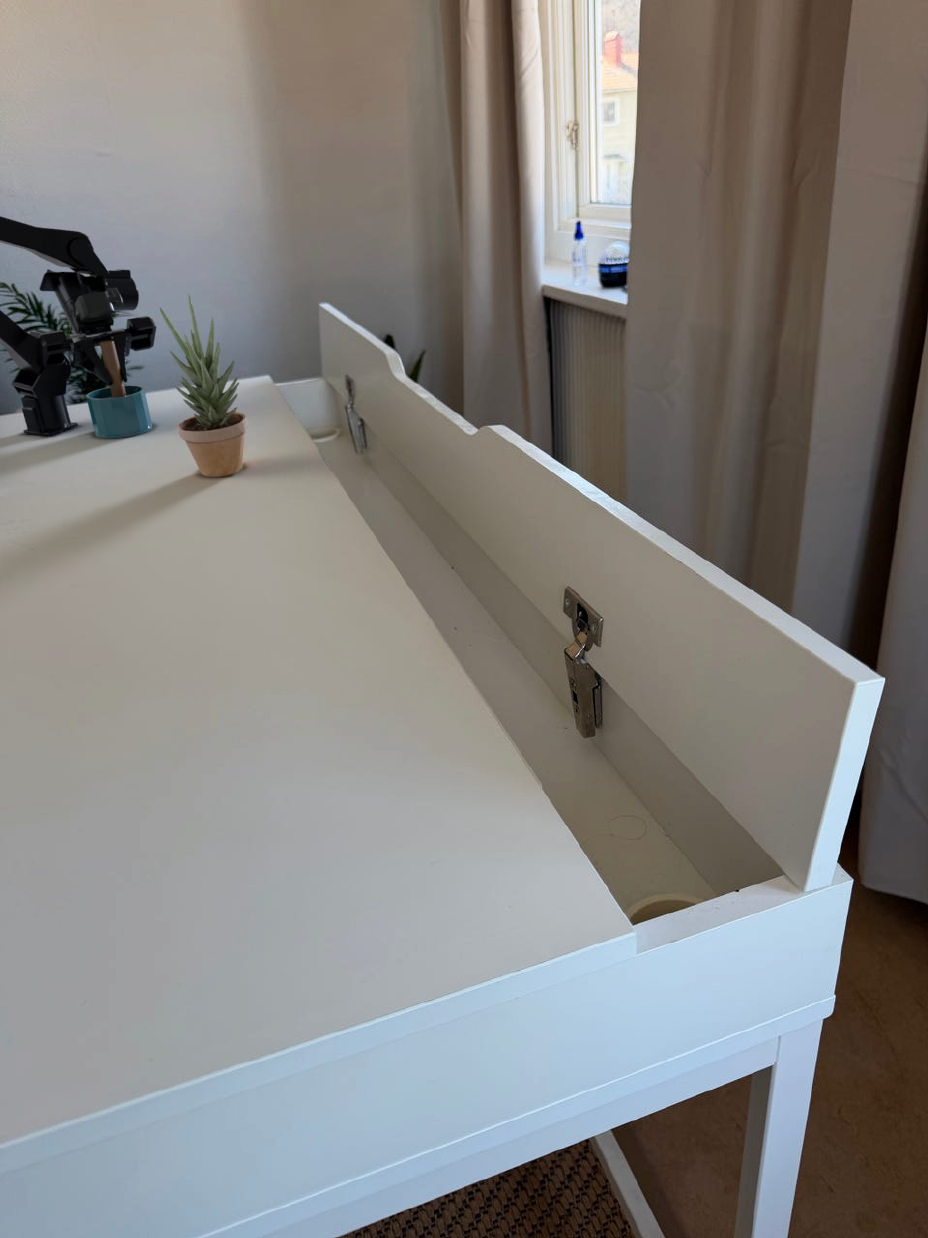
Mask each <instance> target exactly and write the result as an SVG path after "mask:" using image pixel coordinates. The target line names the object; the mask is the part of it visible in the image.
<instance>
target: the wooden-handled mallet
mask: <svg viewBox="0 0 928 1238" xmlns="http://www.w3.org/2000/svg"><path fill="white" fill-rule="evenodd" d="M100 346H101V347H100V350H101V354H102V359H103V364H104V366H105V368H106V369H107V371H108V373H109V375H110V377H111V380H112V385H111V386H109V387H110V388H111V393H112V396H108V397H104V399H108V398H117V397H123V396H128V395H131V394H129V393H126V392H125V387H124V386H125V384H124V383H125V382H124V381H123V379H122V374H121V370H120V366H119V361H118V357H117V353H116V348H115V344H114V341H103V342H100Z"/></svg>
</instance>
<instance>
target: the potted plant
mask: <svg viewBox="0 0 928 1238" xmlns="http://www.w3.org/2000/svg"><path fill="white" fill-rule="evenodd" d="M187 298H188V305H189V310H190V316H191V324H192V328H193V329H190V339H191V342H190V341H189V339H188V337H187V335H186V333H184V335H183V336H184V339H183V337H182V336H181V335H180V333H179V331H178V330H177V328H176V327H175V326H174V324H173V323H172V322H171V320H170V319H169V317H168V316H167V315H166V313H165V312H164V311H163V308H162V307H161V306H160V305H159V306H158V308H159V312H160V314H161V316H162V318H163V320H164V322H165V324H166V326H167V327H168V329H169V330H170V332H171V334H172V336H173V337H174V339H175V341H176V343H177V344H178V346H179V348H180V349H181V350H182V352H183V353H184V355H185V360H186V363H187V365H186V364H185V363H184V362H183V361H181V360H180V359H179V358H178V356H176V355H175V354H174V352H173V351H171V350H169V353H170V354H171V356H172V358H173V359H174V361H175V363H176V364H177V366H179V368H180V369H181V371H182V372H183V373H184V374H185V375H186V376H187V377H188V379H189V380H190V381H191V382H192V384H193V385H192V384H191V383H190V382H189V381H188V380H187V379H186V378H185V377H184V376H182V375H181V376H180V378H181V381H180V384H181V385H182V386H183V387H184V388H185V389H186V390H187V391H188V393H187V392H185V391H184V390H182V389H181V388H179V387H178V386H177V385H173V387H174V388H175V389H176V391H178V392H179V393H180V394H181V395H182V396H183V397H184V398H185V399H182V401H184V403H185V404H186V405H187V406H188V407H189V408H190V409H191V410H193V411H194V412H195V413H193V415H194V416H191V417H189V418H186V419H184V420H182V421H181V422H179V423H178V424H177V430H178V431H177V432H178V434H179V438H180V439H181V440H183V441H184V442H185V444H186V446H187V449H188V450H189V452H190V453H191V456H192V457H193V460H194V461H195V464H196V466H197V468H198V470H199V471H200V473H201V475H203V476H205V477H210V478H219V477H220V478H221V477H228V476H231V475H235V474H236V473H238V472H240V471H241V470H242V469H243V463H244V452H245V451H244V449H245V440H246V439H245V438H246V432H247V430H248V427H249V426H248V419H247V416H246V415H245V414H244V413H243V412H242V413H241V412H238V411H237V409H238V406H236V407H235V408H234V409H232V410H231V411H229V409H230V408H231V407H232V405H233V403H234V402H235V400H236V399H237V398H238V393H236V391H237V389H238V387H239V385H240V382H237V381H238V377H235V378H234V379H233V381H232V382H231V383H230V386H229V387H228V388H227V390H226V391H224V390H225V388H226V385H227V384H228V381H229V380H230V377H231V375H232V372H233V369H234V367H235V360H232V362H231V364H230V365H229V366H228V367H227V369H226V370H225V372H224V373H223V374H222V375H221V376H220V375H219V374H220V361H221V359H220V357H221V344H220V342H219V341H217V343H216V346H215V322H214V317H212V318H211V322H210V325H209V333H208V338H207V339H208V340H207V346H206V350H205V355H204V351H203V345H202V342H201V336H200V332H199V327H198V324H197V320H196V313H195V310H194V306H193V303H192V298H191V296H190V293H189V292H187ZM215 347H216V348H215ZM235 393H236V394H235ZM196 413H197V414H196Z"/></svg>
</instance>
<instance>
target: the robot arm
mask: <svg viewBox="0 0 928 1238" xmlns="http://www.w3.org/2000/svg"><path fill="white" fill-rule="evenodd" d="M0 243H1V244H5V245H8V246H11V247H16V248H19V249H23V250H25V251H27V252H29V253H32V254H33V255H35V256H37V257H38V258H40V259H42V260H44V261H45V262H49V263H51V264H53V265H54V266H58V267H61V268H68V269H70V270H71V271H53V270H51V269H46V272H45V273H44V274H43V276H42V279H41V281H40V285H39V288H38V289H39V291H40V292H54V294H55V296H56V298H57V300H58V302H59V304H60V306H61V308H62V310H63V312H64V315H65V316H66V318H67V321H68V327H69V329H70V331H71V330H72V331H73V333H72V334H69V338H67V335H66V333H65V331H64V330H62V329H60V330H54V331H48V332H38V331H33V330H30V331H29V332H27V331H25V329H23V328H22V327H21V326H20V325H19V324H18V323H16V322H15V321H14V320H13V319H12V318H11V317H10V316H8V315H7V314H6V313H5V312H4V311H2V309H0V345H1V346H2V347H3V348H4V349H5V350H6V351H7V353H8V354H9V356H10V358H11V359H12V361H13V362H14V363H15V365H17V367H18V368H19V370H18V371H17V373H16V375H15V376H14V377H13V380H11V381H12V382H11V386H12V387H13V389H14V390H15V392H16V393H17V394H18V395H23V396H22V397H20V401H21V404H22V408H21V411H22V415H23V419H24V422H25V426H26V429H23V433H24V434H27V435H39V436H47V437H48V436H49V437H50V436H53V435H56V434H59V433H62V432H65V431H67V430H70V429H73V428H76V427H78V426H79V423H78V422H76V421H75V422H72V421H71V417H70V413H69V410H68V406H67V402H66V398H65V395H66V393H67V385H68V384H67V383H68V380H69V377H70V376H71V371H72V365H71V364H73V365H74V366H75V367H82V368H83V369H85V370H86V371H88V372H89V373H91V374H93V375H94V376H96V377H97V378H99V379H100V380H101V381H103V382H104V383H105V384H107V386H108V387H110V386H111V385H112V380H111V377H110V375H109V373H108V371H107V369H106V367H105V363H104V361H102V359H101V357H100V356H99V353H98V352H97V350H96V349H97V348H101V346H100V342H103V341H114V344H115V348H116V353H117V357H118V361H119V366H120V370H121V374H122V379H123V383H128V372H127V371H128V370H127V362H126V358H127V357H129V356H130V354H131V350H132V351H134V352H139V351H144V350H145V351H146V350H150V349H152V348H153V347H154V345H155V340H156V339H155V338H156V334H157V325H156V323H155V321H154V320H153V318H152V317H150V316H148V315H145V316H144V315H143V316H139V317H133V318H132V317H131V318H127V319H126V327H125V328H123V327H122V328H117V329H112V326H114V325H115V324H114V323H115V319H114V318H113V314H114V313H115V312H116V311H135V310H136V309H137V307H138V305H139V301H140V294H139V290H138V288H137V285H136V282H135V279H133V277H132V274H131V270H130V269H124V268H123V269H119V268H117V269H114V270H113V269H112V270H111V269H109V270H108V268H107V267H106V265H105V264H104V262H103V261H102V260H101V259H100V257H99V256H98V254H97V253H96V252H95V249H94V245H93V243H92V241H91V240H90V237H89V236H88V235H87V234H86V233H84V232H81V231H79V230H69V229H61V228H59V229H58V228H49V227H41V226H40V227H38V226H34V225H31V224H28V223H25V222H21V221H18V220H16V219H15V220H14V219H11V218H7V217H4V216H1V215H0ZM86 275H89V276H86ZM67 352H69V353H70V355H72V362H71V360H70V358H69V357H68V356H67V355H66V354H65V353H67Z"/></svg>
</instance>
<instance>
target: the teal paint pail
mask: <svg viewBox="0 0 928 1238" xmlns="http://www.w3.org/2000/svg"><path fill="white" fill-rule="evenodd" d="M124 387H125V392H126V393H129V394H131V395H128V396H123V397H117V398H108V399H104V397H108V396H112V393H111V388H110V386H108V387H104V388H100V389H96V390H93V391H91V392H89V393H86V396H85V397H86V398H85V399H86V402H87V407H88V411H89V415H90V418H91V422H92V425H93V426H92V427H93V430H94V434H95V436H96V437H97V438H100V439H122V438H129V437H134V436H138V435H142V434H144V433H147V432H149V431H150V430H152V429H153V422H152V419H151V413H150V409H149V404H148V400H147V399H148V398H147V396H146V392H145V391H146V390H145V387H144V386H142V385H135V384H129V385H128V384H127V385H125V384H124Z"/></svg>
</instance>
